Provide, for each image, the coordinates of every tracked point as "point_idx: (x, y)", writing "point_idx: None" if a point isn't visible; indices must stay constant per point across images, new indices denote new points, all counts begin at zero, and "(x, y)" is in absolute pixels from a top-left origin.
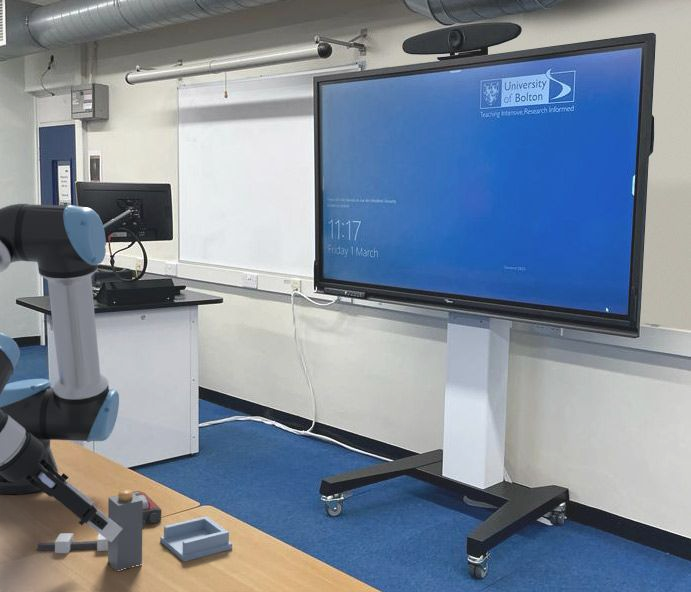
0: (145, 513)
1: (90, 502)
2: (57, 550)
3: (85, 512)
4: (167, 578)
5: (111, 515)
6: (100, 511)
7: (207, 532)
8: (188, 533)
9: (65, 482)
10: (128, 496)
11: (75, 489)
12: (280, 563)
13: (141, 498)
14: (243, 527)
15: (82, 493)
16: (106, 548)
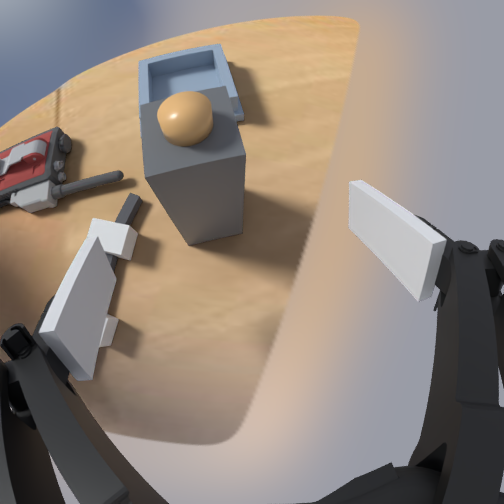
0: (55, 152)
1: (97, 248)
2: (110, 340)
3: (494, 284)
4: (300, 155)
5: (188, 195)
6: (427, 225)
7: (165, 74)
8: (153, 96)
9: (461, 402)
10: (211, 108)
11: (72, 298)
12: (292, 36)
13: (21, 150)
14: (160, 44)
15: (80, 270)
16: (133, 240)
